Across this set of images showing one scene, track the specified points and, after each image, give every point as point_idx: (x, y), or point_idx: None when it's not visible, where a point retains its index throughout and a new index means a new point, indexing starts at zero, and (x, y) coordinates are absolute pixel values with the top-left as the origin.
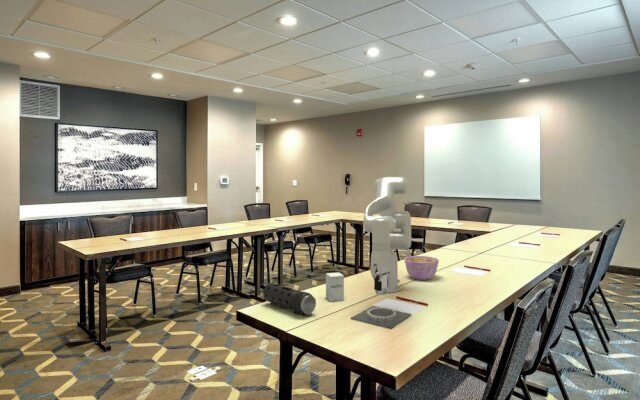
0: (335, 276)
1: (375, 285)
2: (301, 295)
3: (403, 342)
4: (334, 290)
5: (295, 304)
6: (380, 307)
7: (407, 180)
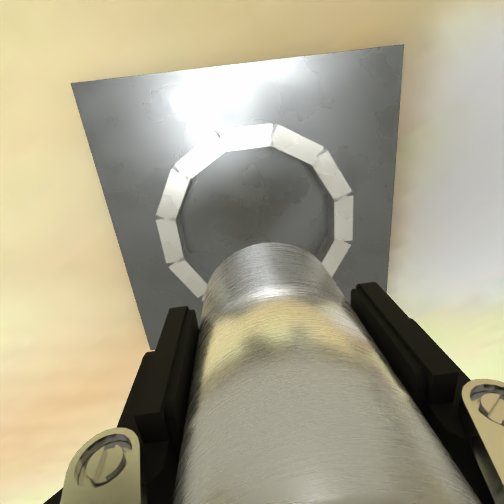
0: None
1: (135, 384)
2: None
3: (84, 436)
4: None
5: None
6: (395, 119)
7: None
